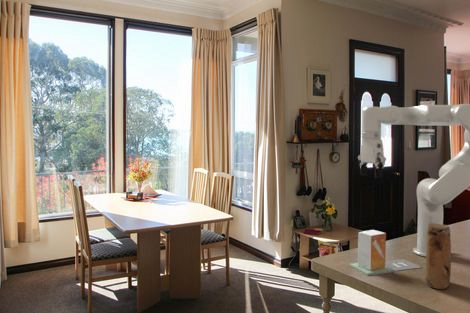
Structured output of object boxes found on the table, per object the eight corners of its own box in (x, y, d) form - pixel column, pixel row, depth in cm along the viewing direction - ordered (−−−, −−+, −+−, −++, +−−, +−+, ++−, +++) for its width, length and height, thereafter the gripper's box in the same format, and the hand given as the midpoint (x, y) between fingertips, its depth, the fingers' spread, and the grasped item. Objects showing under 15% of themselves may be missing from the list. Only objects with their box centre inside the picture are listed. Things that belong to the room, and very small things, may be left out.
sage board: (373, 262, 153) (373, 260, 153) (393, 272, 142) (393, 269, 142) (349, 265, 150) (349, 263, 149) (367, 275, 139) (367, 273, 139)
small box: (370, 271, 141) (371, 235, 140) (357, 266, 147) (357, 231, 146) (385, 267, 145) (386, 232, 144) (372, 262, 151) (372, 229, 150)
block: (425, 277, 137) (427, 221, 136) (450, 281, 133) (451, 223, 132) (424, 288, 127) (425, 227, 126) (450, 292, 124) (451, 230, 123)
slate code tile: (403, 259, 156) (403, 259, 156) (422, 267, 147) (422, 267, 147) (377, 262, 153) (377, 262, 153) (395, 271, 143) (395, 270, 143)
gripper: (393, 136, 157) (392, 178, 158) (366, 136, 174) (365, 174, 175) (377, 136, 155) (376, 179, 156) (351, 136, 171) (351, 175, 172)
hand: (371, 176), depth 165 cm, fingers open, 9 cm apart
